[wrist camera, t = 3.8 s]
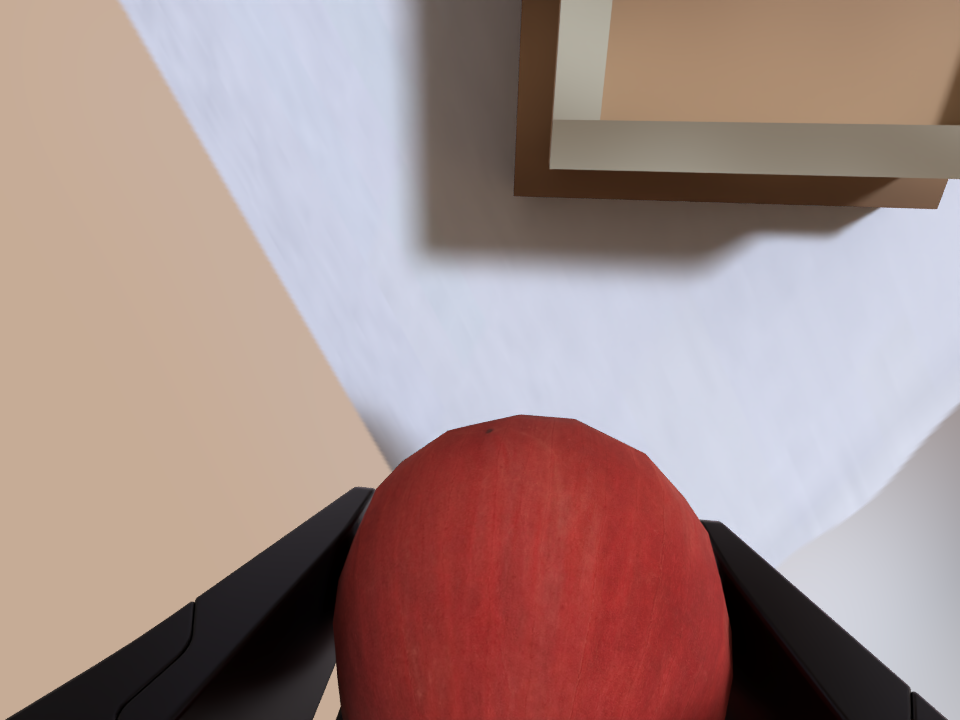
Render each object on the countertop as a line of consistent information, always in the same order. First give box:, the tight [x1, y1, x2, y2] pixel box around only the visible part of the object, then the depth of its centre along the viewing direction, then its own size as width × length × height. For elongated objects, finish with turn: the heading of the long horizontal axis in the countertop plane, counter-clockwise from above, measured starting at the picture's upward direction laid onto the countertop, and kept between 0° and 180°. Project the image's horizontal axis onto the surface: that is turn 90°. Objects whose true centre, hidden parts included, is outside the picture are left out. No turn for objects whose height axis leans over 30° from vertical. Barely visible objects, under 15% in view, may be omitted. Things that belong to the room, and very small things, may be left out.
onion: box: [333, 415, 733, 720], centre depth 8 cm, size 6×6×8 cm
